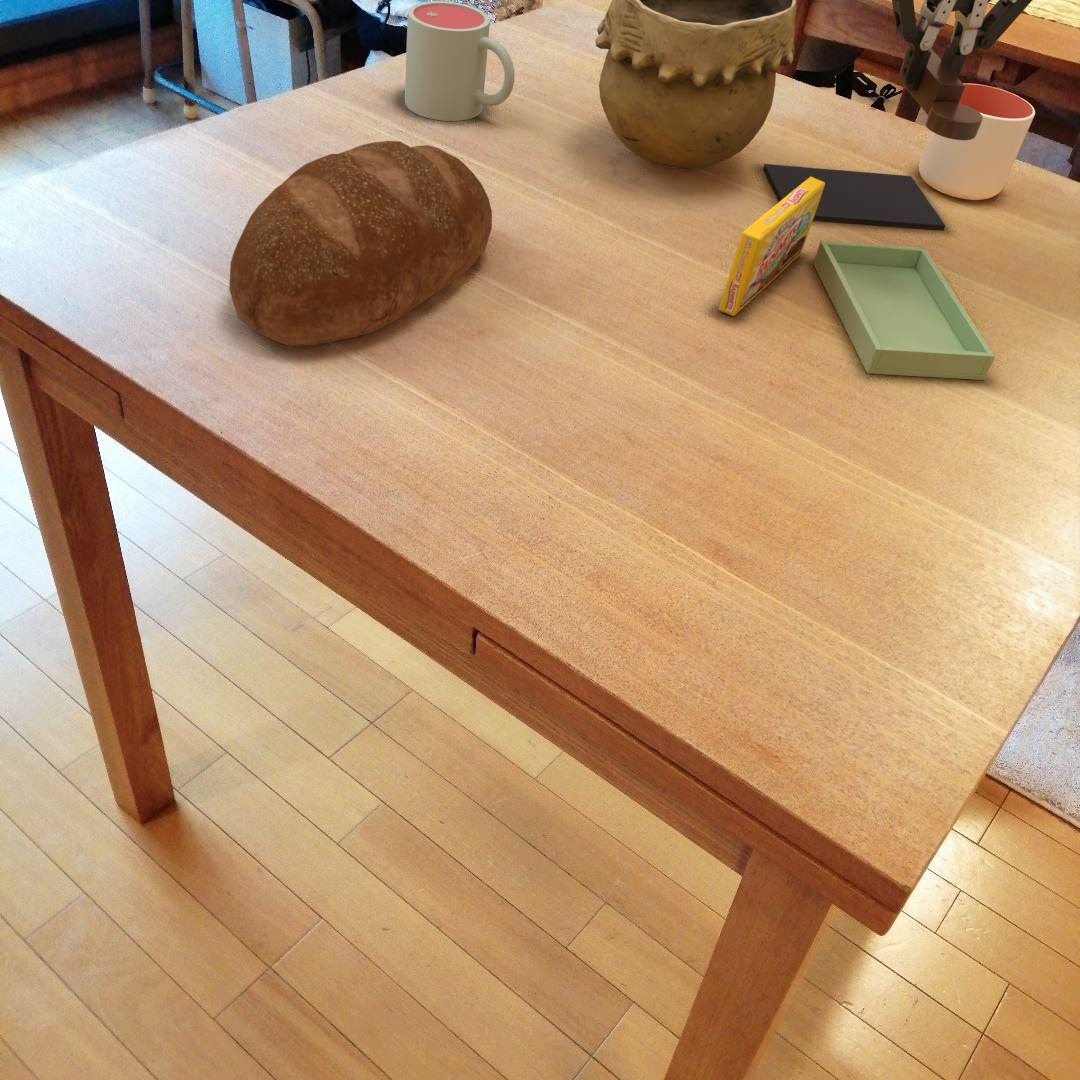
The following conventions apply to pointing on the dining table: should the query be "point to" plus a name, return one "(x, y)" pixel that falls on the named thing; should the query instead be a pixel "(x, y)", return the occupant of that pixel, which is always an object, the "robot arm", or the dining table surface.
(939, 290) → the tray
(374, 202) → the bread
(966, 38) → the robot arm
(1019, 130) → the cup
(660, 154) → the clay pot
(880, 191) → the mat
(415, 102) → the mug
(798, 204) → the candy box
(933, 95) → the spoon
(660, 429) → the dining table surface
